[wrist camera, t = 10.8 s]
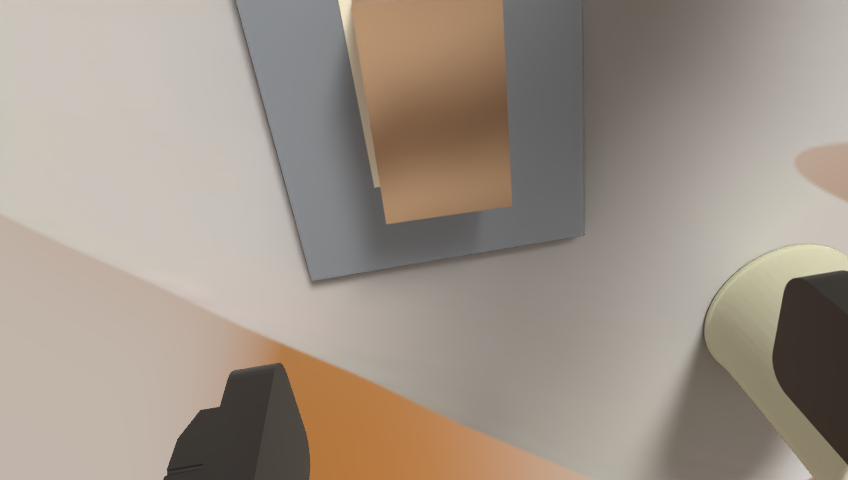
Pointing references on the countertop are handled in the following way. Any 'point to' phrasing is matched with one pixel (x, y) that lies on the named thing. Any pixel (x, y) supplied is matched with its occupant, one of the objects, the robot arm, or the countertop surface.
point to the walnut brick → (436, 104)
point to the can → (771, 344)
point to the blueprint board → (354, 151)
